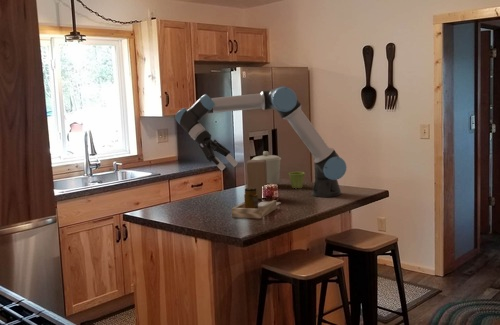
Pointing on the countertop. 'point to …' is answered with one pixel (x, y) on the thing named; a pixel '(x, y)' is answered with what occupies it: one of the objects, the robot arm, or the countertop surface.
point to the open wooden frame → (253, 210)
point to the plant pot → (296, 179)
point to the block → (256, 175)
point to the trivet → (266, 203)
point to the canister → (271, 166)
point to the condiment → (251, 198)
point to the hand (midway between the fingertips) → (230, 167)
